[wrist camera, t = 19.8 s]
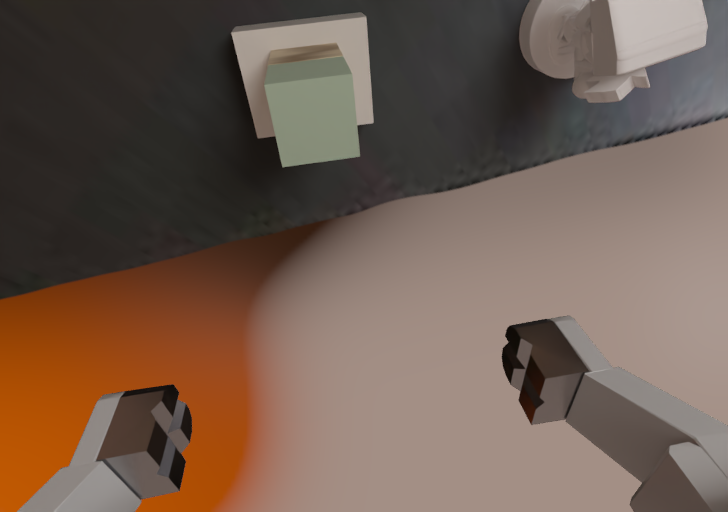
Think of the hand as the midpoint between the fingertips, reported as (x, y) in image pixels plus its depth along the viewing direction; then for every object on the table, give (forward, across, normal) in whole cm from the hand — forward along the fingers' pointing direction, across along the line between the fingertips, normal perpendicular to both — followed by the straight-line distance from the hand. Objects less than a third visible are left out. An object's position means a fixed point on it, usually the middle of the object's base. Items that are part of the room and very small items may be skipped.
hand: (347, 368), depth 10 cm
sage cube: (+23, 0, 0) cm, 23 cm away
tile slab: (+31, 0, 0) cm, 31 cm away
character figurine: (+31, -23, -2) cm, 39 cm away
